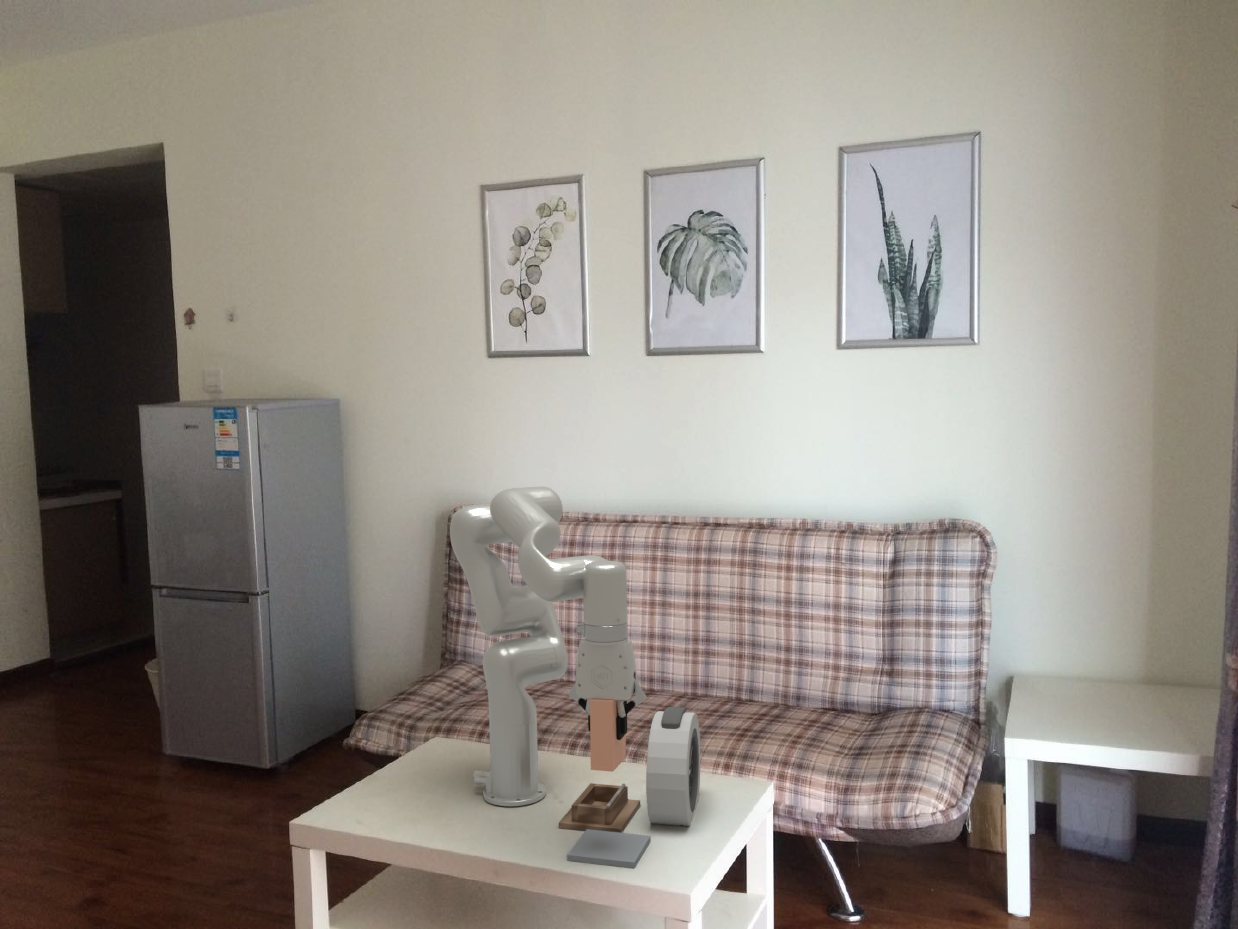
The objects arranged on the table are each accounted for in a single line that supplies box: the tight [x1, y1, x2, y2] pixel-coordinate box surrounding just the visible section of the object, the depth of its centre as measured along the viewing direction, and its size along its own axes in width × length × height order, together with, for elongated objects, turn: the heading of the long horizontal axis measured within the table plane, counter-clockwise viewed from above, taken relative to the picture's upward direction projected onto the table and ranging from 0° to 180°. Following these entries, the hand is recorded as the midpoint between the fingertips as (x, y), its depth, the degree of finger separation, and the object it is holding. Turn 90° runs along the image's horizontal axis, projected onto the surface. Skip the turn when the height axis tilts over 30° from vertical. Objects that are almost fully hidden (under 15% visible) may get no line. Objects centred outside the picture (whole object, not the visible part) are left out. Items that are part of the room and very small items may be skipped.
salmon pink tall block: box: [589, 699, 627, 773], centre depth 173 cm, size 4×8×12 cm, turn 164°
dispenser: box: [558, 782, 641, 833], centre depth 189 cm, size 12×14×5 cm
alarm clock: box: [645, 706, 701, 827], centre depth 191 cm, size 21×8×20 cm, turn 168°
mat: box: [566, 829, 652, 869], centre depth 174 cm, size 12×11×1 cm
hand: (607, 735), depth 173 cm, fingers closed on salmon pink tall block, 4 cm apart
